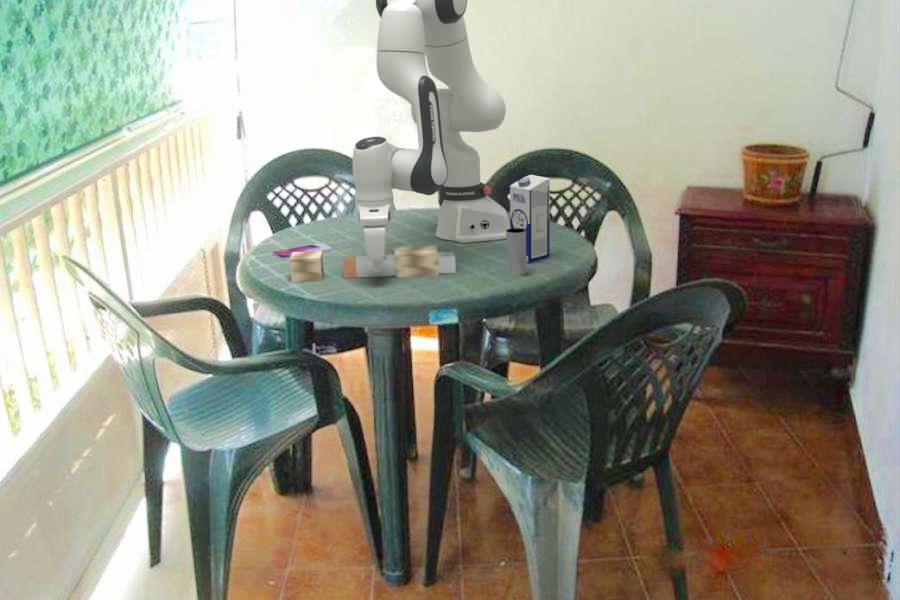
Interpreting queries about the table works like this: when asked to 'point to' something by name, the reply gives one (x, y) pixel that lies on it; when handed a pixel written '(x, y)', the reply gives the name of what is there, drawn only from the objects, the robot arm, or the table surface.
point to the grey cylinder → (516, 251)
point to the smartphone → (303, 250)
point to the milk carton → (532, 214)
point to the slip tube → (389, 265)
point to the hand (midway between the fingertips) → (378, 267)
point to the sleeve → (416, 261)
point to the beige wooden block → (306, 266)
